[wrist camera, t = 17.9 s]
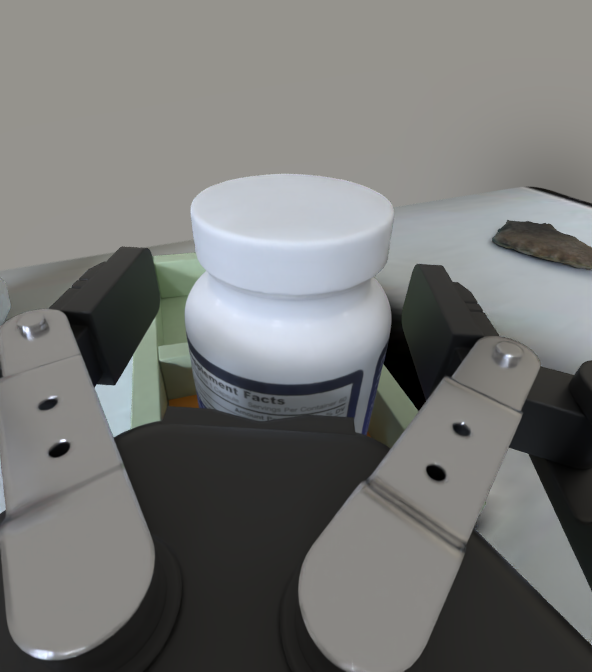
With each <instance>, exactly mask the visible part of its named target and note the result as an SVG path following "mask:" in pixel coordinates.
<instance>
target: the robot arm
mask: <svg viewBox="0 0 592 672" xmlns="http://www.w3.org/2000/svg"><path fill="white" fill-rule="evenodd" d="M159 307H160V292H159V287H158V282H157V277H156V272H155V267H154V262H153V257H152V254H151V251H150V250H149V249H148V248H137V247H120V248H119V249H118V250H117V251H116V252H115V253H114V254H113V255H112V256H111V257H110V258H109V259H108V260H107V262H102V263H100V264H98V265H96V266H94V267H92V268H90V269H89V270H88V271H87V272H86V273H84V274H83V275H82V276H81V277H80V278H79V280H77V281H76V282H75V283H74V284H73V285H72V288H69V289H68V290H67V291H66V292H65V293H64V294H63V295H62V296H61V297H60V298H59V299H58V300H57V301H56V302H55V303H54V304H53V305H52V306H51V307H50V308H49V309H38V310H32V311H28V312H24V313H21V314H19V315H16V316H14V317H12V318H10V319H9V320H7V321H6V322H4V323H3V324H2V325H1V326H0V458H1V468H2V477H3V486H4V496H5V505H6V510H5V511H4V512H2V513H1V514H0V672H592V645H591V644H590V643H589V642H588V641H587V640H586V639H585V638H584V637H583V636H582V635H581V634H580V633H579V632H578V631H577V630H576V629H575V628H574V627H573V626H572V625H571V624H570V623H569V622H568V621H567V620H566V619H565V618H564V617H563V616H562V615H561V614H560V613H559V612H558V611H557V610H556V609H555V608H554V607H552V606H551V605H550V604H549V603H548V602H547V601H546V600H545V599H544V598H543V597H542V596H541V595H540V594H539V593H538V592H537V591H536V590H535V589H534V588H533V587H532V586H531V585H530V584H529V583H528V582H527V581H526V580H525V579H524V578H523V577H522V576H521V575H520V574H519V573H518V572H517V571H516V570H515V569H514V568H513V567H512V566H511V565H510V564H509V563H508V562H507V561H506V560H505V559H504V558H503V557H502V556H501V555H500V554H499V553H498V552H497V551H496V550H495V549H494V548H493V547H492V546H491V545H490V544H489V543H488V542H487V541H486V540H485V539H484V538H483V537H482V536H481V535H480V534H479V533H478V532H477V531H476V530H475V529H474V526H475V523H476V521H477V519H478V516H479V514H480V512H481V510H482V507H483V505H484V503H485V500H486V498H487V496H488V493H489V491H490V489H491V487H492V484H493V482H494V480H495V477H496V475H497V473H498V470H499V468H500V466H501V464H502V461H503V459H504V457H505V454H506V452H507V450H508V447H509V448H512V449H515V450H519V451H522V452H525V453H528V454H529V456H530V458H531V461H532V463H533V465H534V467H535V469H536V471H537V474H538V476H539V478H540V480H541V482H542V484H543V487H544V489H545V491H546V493H547V495H548V497H549V500H550V502H551V504H552V506H553V508H554V510H555V513H556V515H557V517H558V519H559V521H560V523H561V526H562V528H563V530H564V532H565V534H566V536H567V538H568V541H569V543H570V545H571V547H572V549H573V551H574V554H575V556H576V558H577V560H578V562H579V564H580V567H581V569H582V571H583V573H584V575H585V577H586V580H587V582H588V584H589V586H590V588H591V590H592V361H587V362H584V363H583V364H582V365H581V366H580V368H579V369H578V370H577V372H576V373H575V375H571V374H567V373H563V372H560V371H556V370H552V369H548V368H544V367H541V366H540V360H539V358H538V357H537V355H536V354H535V353H534V352H533V351H532V350H531V349H529V348H528V347H526V346H525V345H523V344H521V343H519V342H517V341H515V340H512V339H509V338H505V337H500V336H499V335H498V333H497V331H496V330H495V328H494V327H493V325H492V324H491V322H490V321H489V319H488V318H487V316H486V314H485V313H483V310H482V308H481V307H480V305H479V304H477V301H476V299H475V298H474V296H473V294H472V293H471V292H470V291H469V290H468V289H466V288H465V287H464V286H462V285H461V284H459V283H458V282H452V280H451V278H450V277H449V275H448V273H447V272H446V270H445V268H444V267H443V266H442V265H426V264H416V265H415V267H414V269H413V272H412V275H411V279H410V283H409V287H408V291H407V294H406V298H405V302H404V306H403V310H402V327H403V330H404V334H405V337H406V340H407V343H408V346H409V349H410V352H411V355H412V359H413V362H414V365H415V368H416V371H417V374H418V377H419V380H420V384H421V387H422V390H423V393H424V396H425V399H426V402H425V404H424V405H423V406H422V408H421V409H420V410H419V412H418V413H417V414H416V416H415V417H414V418H413V420H412V421H411V422H410V424H409V425H408V426H407V428H406V429H405V430H404V432H403V433H402V435H401V436H400V437H399V439H398V440H397V441H396V443H395V444H394V445H393V447H392V448H389V447H388V446H386V445H385V444H383V443H381V442H379V441H377V440H375V439H373V438H371V437H369V436H366V435H364V434H361V433H357V432H355V426H354V417H339V416H323V415H302V416H295V417H288V418H281V419H274V420H268V421H255V420H251V419H248V418H244V417H241V416H237V415H234V414H230V413H226V412H223V411H219V410H216V409H208V408H191V407H175V406H168V407H167V409H166V412H165V414H164V417H163V419H162V421H156V422H151V423H147V424H144V425H141V426H138V427H135V428H132V429H130V430H128V431H126V432H123V433H121V434H119V435H118V436H116V437H113V434H112V432H111V429H110V427H109V424H108V422H107V419H106V416H105V414H104V411H103V409H102V406H101V404H100V401H99V398H98V396H97V393H96V391H95V388H94V387H95V386H96V384H102V385H116V383H117V381H118V380H119V378H120V376H121V374H122V373H123V371H124V369H125V368H126V366H127V364H128V363H129V361H130V359H131V357H132V356H133V354H134V352H135V351H136V349H137V347H138V346H139V344H140V342H141V341H142V339H143V337H144V335H145V334H146V332H147V330H148V329H149V327H150V325H151V324H152V322H153V320H154V319H155V317H156V315H157V313H158V311H159Z"/></svg>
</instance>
